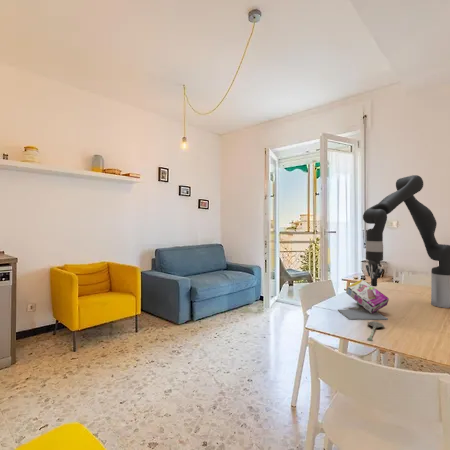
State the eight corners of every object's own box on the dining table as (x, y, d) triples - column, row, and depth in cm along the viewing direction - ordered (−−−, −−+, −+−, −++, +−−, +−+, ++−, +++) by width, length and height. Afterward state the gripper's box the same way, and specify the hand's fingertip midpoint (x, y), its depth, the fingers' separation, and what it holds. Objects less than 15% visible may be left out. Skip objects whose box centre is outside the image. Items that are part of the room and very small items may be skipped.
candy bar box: (373, 307, 139) (346, 286, 152) (371, 314, 142) (345, 293, 155) (389, 297, 143) (362, 278, 156) (387, 304, 146) (360, 285, 159)
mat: (373, 310, 149) (373, 309, 149) (388, 320, 135) (388, 318, 135) (337, 310, 149) (337, 309, 149) (349, 319, 135) (349, 318, 135)
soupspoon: (385, 328, 128) (368, 326, 131) (385, 320, 128) (368, 318, 132) (379, 343, 110) (360, 340, 113) (378, 334, 110) (359, 331, 113)
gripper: (389, 251, 135) (389, 289, 135) (375, 249, 148) (374, 283, 149) (373, 251, 135) (373, 289, 135) (360, 249, 148) (360, 283, 149)
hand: (373, 286), depth 142 cm, fingers closed
